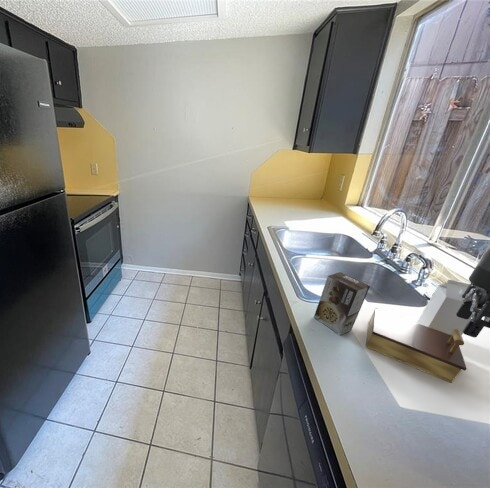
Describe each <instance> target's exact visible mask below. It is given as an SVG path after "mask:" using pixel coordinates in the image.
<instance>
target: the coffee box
mask: <svg viewBox="0 0 490 488" xmlns="http://www.w3.org/2000/svg"><path fill="white" fill-rule="evenodd" d="M370 288H371V285H369V284H367V283H365V282H363V281H361V280H358V279H357V278H354V277H352V276H350V275H348V274H346V273H343V272H342V271H337V272H335V273H333V274H330V275H329V274H328V275H327V276H326V279H325V283H324V286H323V289H322V292H321V294H320V298H319V300H318V303H317V306H316V309H315V313H314V315H313V318H314V319H315V320H317V321H319V323H322V324H323V325H324V326H326V327H327V328H328V329H330V330H332V331H333V332H334V333H336V334H338V335H339V336H341V335H344V334H346V333H348V332H350V331H352V330H353V328H354V325H355V322H356V320H357V318H358V316H359V313H360V311H361V308H362V306H363V304H364V301H365V299H366V297H367V295H368V293H369V290H370Z"/></svg>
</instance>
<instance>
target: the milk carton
mask: <svg viewBox="0 0 490 488" xmlns="http://www.w3.org/2000/svg"><path fill="white" fill-rule="evenodd" d="M470 284H471V283H467V282H465V281H464V282H463V281H458V280H455V279H450V278H448V279H447V281H446V282H444V283H441V284H438V285H436V288H435V289H434V292H433V293H432V295H431V297H430V299H429V300H428V302H427V304H426V305H425V308H424V309H423V311H422V313H421V314H420V316H419V318H418V320H417V321H416V323H418V324H421V325H424V326H426V327H429V328H432V329H435V330H438V331H441V332H444V333H446V334H449V335H452V332H451V331H452V330H453V329H457V330H459V331H460V332H461V335H462V336H463V334H464V333H463V330H464V328H465V327H466V325H467V324H468V322H469V321H470V319H471V316H472V315H471V316H470V318H469V319H463V318H460V317H457V315H456V313H457V312H458V310H459V308H460V307H461V305H462V304H464V303H462V300H463V299H464V298H462V295H463V294H464V292H465V291H466V290H467V288H468V287H469V285H470Z"/></svg>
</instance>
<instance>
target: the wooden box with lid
mask: <svg viewBox="0 0 490 488" xmlns="http://www.w3.org/2000/svg"><path fill="white" fill-rule="evenodd" d="M373 319H374V311H373V312H372V315H371V316H370V319H369V321H368V323H367V324H368V325H367V331H366V341H365V348H368V349H370V350H373V351H375V352H376V353H379V354H382V355H384V356H386V357H389V358H391V359H393V360H396V361H398V362H401V363H403V364H405V365H408V366H411V367H413V368H415V369H417V370H419V371H422V372H424V373H426V374H429V375H431V376H434V377H436V378H438V379H441V380H443V381H445V382H447V383H450V384H452V383H453V382H454V380H455V379H456V378H457V376H458V375H459V374H460V372H461V371H462V369H460V368H457V367H454V366H452V365H449V364H447V363H444V362H442V361H439V360H437V359H434V358H432V357H429V356H427V355H424V354H422V353H419V352H417V351H414V350H412V349H409V348H407V347H404V346H402V345H399V344H397V343H394V342H392V341H389V340H387V339H384V338H382V337H379V336H377V335H374V334H372V329H373Z"/></svg>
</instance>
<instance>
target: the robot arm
mask: <svg viewBox="0 0 490 488" xmlns="http://www.w3.org/2000/svg"><path fill="white" fill-rule="evenodd" d="M468 281H469V282H470V283H469V284H470V285H469V287H468V288H467V290H466V291H465V292H464V294H463V295H462V298H464V299H463V300H462V303H464V304H462V305H461V307H460V308H459V310H458V312H457V313H456V315H457V317H460V318H463V319H469V318H470V316H471V315H472V316H471V319H470V321H469V322H468V324H467V325H466V327H465V328H464V330H463V334H464V335H465V336H469V337H470V338H477V337H478V336H479V335H480V333H481V331H482V330H483V329H484V327H485V328H487V329H490V247H489V248H488V249H486V251H485V252H484V254H483V255H482V256H481V258H480V260H479V261H478V263H477V264H476V266H475V268H474V269H473V271H472V272H471V274H470V276H469V277H468Z"/></svg>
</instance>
